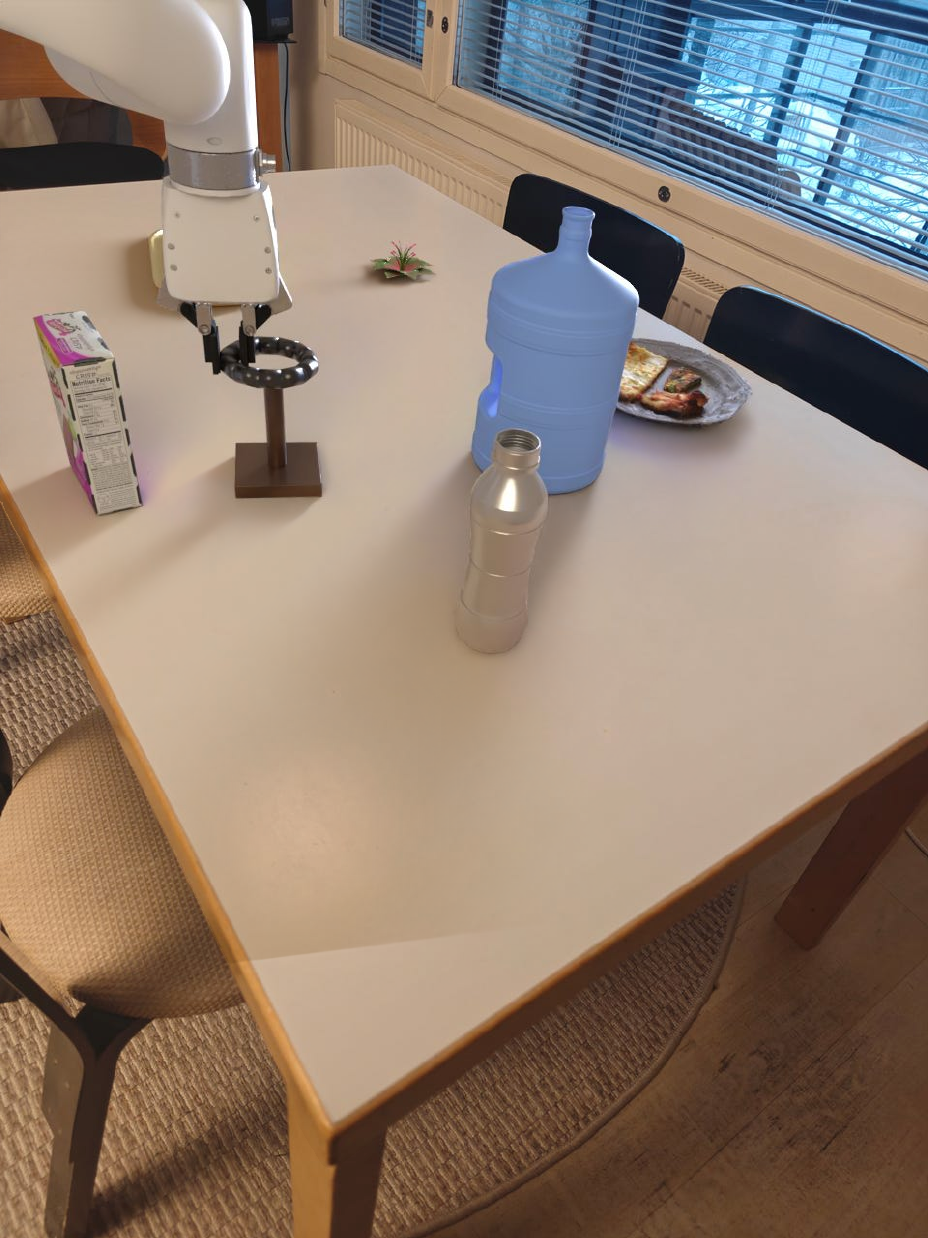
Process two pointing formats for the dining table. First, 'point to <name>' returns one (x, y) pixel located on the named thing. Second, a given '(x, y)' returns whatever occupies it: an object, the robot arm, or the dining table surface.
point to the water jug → (557, 356)
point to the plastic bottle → (502, 543)
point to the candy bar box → (89, 410)
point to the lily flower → (402, 265)
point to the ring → (270, 376)
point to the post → (276, 460)
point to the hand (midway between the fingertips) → (231, 367)
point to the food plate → (678, 385)
